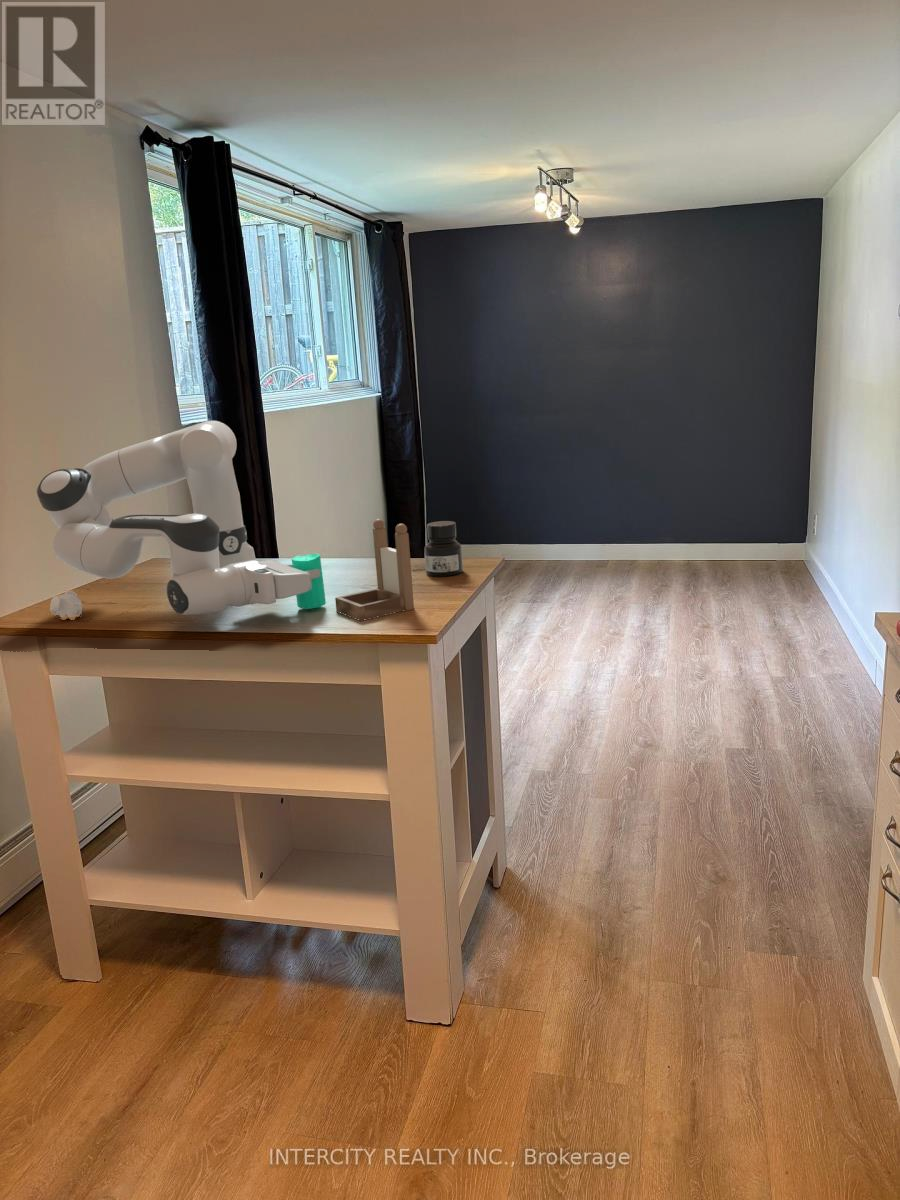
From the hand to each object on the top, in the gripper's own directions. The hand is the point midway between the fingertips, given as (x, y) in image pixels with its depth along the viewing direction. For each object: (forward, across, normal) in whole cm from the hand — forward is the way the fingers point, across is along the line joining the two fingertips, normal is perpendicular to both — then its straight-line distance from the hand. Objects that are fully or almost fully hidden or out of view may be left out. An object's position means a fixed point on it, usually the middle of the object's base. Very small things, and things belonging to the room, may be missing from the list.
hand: (311, 570), depth 199 cm
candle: (-1, 0, -8) cm, 8 cm away
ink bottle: (+37, -5, -9) cm, 38 cm away
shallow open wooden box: (+7, +11, -8) cm, 16 cm away
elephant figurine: (-43, -34, -8) cm, 55 cm away
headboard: (+13, +11, -8) cm, 19 cm away
